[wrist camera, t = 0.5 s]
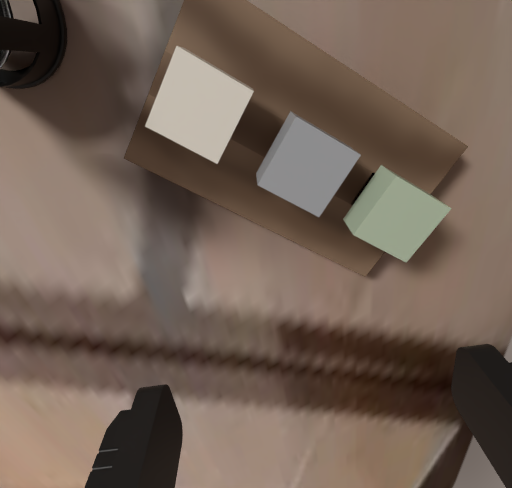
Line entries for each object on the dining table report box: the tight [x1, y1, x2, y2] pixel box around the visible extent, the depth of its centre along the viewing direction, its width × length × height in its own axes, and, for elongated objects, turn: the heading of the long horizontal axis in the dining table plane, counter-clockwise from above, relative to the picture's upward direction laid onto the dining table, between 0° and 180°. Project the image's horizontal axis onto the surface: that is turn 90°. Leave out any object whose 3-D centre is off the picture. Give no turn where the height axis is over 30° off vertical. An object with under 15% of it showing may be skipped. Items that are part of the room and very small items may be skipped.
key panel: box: [124, 0, 468, 277], centre depth 30 cm, size 14×24×3 cm, turn 61°
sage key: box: [343, 165, 451, 262], centre depth 28 cm, size 5×5×6 cm
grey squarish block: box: [256, 111, 361, 217], centre depth 26 cm, size 5×5×6 cm
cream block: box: [145, 46, 254, 164], centre depth 24 cm, size 5×5×6 cm
